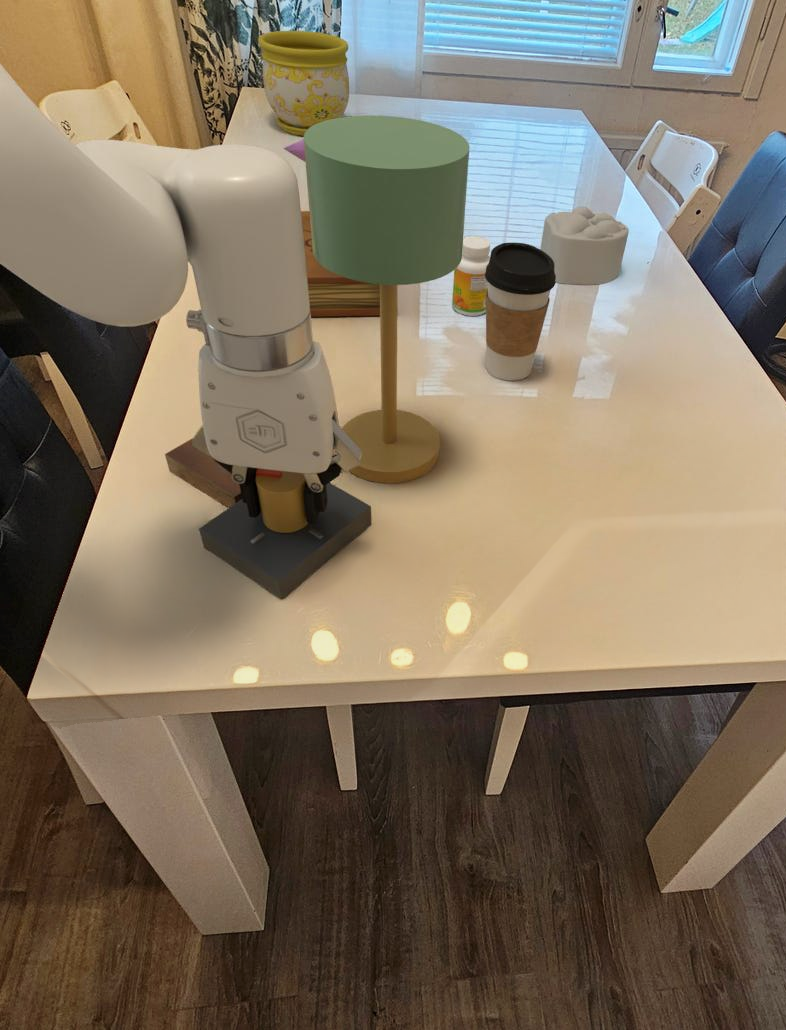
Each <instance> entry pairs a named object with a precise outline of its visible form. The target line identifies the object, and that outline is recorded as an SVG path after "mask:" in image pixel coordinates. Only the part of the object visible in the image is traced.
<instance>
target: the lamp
mask: <svg viewBox="0 0 786 1030" xmlns="http://www.w3.org/2000/svg"><path fill="white" fill-rule="evenodd" d="M303 139H304V150H305V162H304V163H305V174H306V186H307V197H308V211H310V223H311V236H312V248H313V254H314V256H315V258H316V260H317V261H318V262H319V263H320V264H321V265H322V266H323V267H325V268H326V269H328V270H329V271H331V272H333V273H335V274H337V275H340V276H343V277H345V278H349V279H352V280H356V281H360V282H365V283H372V284H380V315H379V325H380V326H379V327H380V328H379V329H380V330H379V331H380V333H379V334H380V335H379V336H380V398H381V401H380V402H381V404H380V405H381V409H376V410H371V411H366V412H363V413H361V414H359V415H356V416H354V417H352V418H350V419H349V420H348V421H347V422H346V423H345V424H344V425H343V426H342V427H341V428H342V429H343V430H344V432H345V433H346V434H347V435H348V436H349V437H350V438H351V439H352V441H353V442H354V443H355V444H356V445H357V446H358V447H359V448H360V449H361V451H362V452H363V456H362V459H361V462H360V465H359V466H357V467H355V468H352V469H350V470H348V472H350V473H351V474H353V475H354V476H356V477H358V478H360V479H363V480H366V481H368V482H374V483H378V484H379V483H380V484H401V483H406V482H409V481H413V480H416V479H418V478H420V477H423V476H424V475H426V474H427V473H429V472H430V471H431V470H432V469H433V468H434V467H435V465H437V463H438V460H439V457H440V447H441V439H440V438H441V437H440V435H439V432H438V430H437V429H436V427H435V426H434V425H433V424H432V423H431V422H430V421H429V420H427V419H426V418H425V417H422V416H420V415H419V414H416V413H413V412H410V411H406V410H401V409H398V286H407V285H417V284H422V283H427V282H431V281H435V280H438V279H441V278H443V277H445V276H447V275H449V274H451V273H452V272H454V270H455V269H456V268H457V267H458V265H459V264H460V262H461V259H462V248H463V238H464V234H465V233H464V231H465V219H466V218H465V217H466V203H467V202H466V201H467V190H468V189H467V188H468V173H469V159H470V144H469V141H468V140H467V139H466V138H465V137H464V136H462V135H461V134H460V133H458V132H456V131H455V130H452V129H450V128H447V127H446V126H443V125H439V124H436V123H433V122H429V121H425V120H420V119H414V118H410V117H409V118H408V117H403V116H402V117H401V116H393V115H350V116H342V117H341V118H335V119H331V120H326V121H323V122H320V123H318V124H315V125H313V126H312V127H310V128H309V129H308V130H307V131H306V132H305V134H304V136H303Z"/></svg>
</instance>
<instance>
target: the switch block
mask: <svg viewBox="0 0 786 1030" xmlns="http://www.w3.org/2000/svg"><path fill="white" fill-rule="evenodd" d="M193 438H194V437H192V438H190V439H189V440H187V441H185V442H184V443H181V444H180V445H178V446H176V447H175V448H172V449H171V450H169V451H168V452H166V453H164V457H165V461H166V463H167V466H168V470H169V472H171V473H173V474H174V475H176V476H177V477H179V478H181V479H182V480H184V481H185V482H187V483H188V484H190V485H192V486H193V487H194V488H196V489H198V490H200V491H201V492H203V493H204V494H206V495H208V496H209V497H211V498H212V499H214V500H216V501H217V502H219V503H220V504H222V505H224V506H226V507H227V509H228V508H230V507H231V506H233V505H234V504H236V503H237V502H239V501H240V500H241V499H242V495H241V490H240V485H239V483H236V482H234V481H233V480H232V477H231V476H232V474H231V473H230V472H229V471H227V470H226V469H225V468H223V467H222V466H221V465H219V464H218V463H217V462H215V460H214V458H213V457H212V456H208V455H207V454H205V453H204V452H202V451H200V450H199V449H197V448H195V447H194V446H193V445H192V443H191V441H192V439H193Z"/></svg>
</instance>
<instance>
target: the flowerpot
mask: <svg viewBox="0 0 786 1030" xmlns="http://www.w3.org/2000/svg"><path fill="white" fill-rule="evenodd" d="M257 41H258V46H259V47H260V48H261V57H262V80H263V88H264V93H265V97H266V99H267V101H268V104H269V106H270V107H271V109H272V111H273V113H275V115H276V118H275V122H276V123H277V125H279V126H280V128H281V129H282V130H283V131H285V132H286V133H288V134H291V135H294V136H302V137H304V134H305V132H306V131H307V130H308V129H309V128H310V127H312V126H313V125H315V124H318V123H320V122H323V121H326V120H331V119H335V118H341V117H343V115H344V114H345V112H346V109H347V108H348V103H349V99H350V77H349V69H348V65H347V62H348V58H347V52H348V50H349V44H348V42H347V40H345V39H344V38H342V37H339V36H336V35H332V34H328V33H323V32H317V31H307V30H277V31H270V32H265V33H263V34H260V36H259V37H258V40H257Z"/></svg>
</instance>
